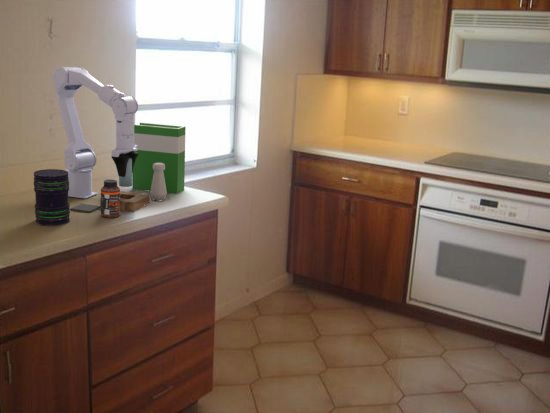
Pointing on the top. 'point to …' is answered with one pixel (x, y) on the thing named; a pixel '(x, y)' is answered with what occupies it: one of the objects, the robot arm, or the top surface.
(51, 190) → the storage jar
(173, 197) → the top surface
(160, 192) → the salt shaker
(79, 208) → the mat
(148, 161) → the green cereal box
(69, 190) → the robot arm
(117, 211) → the supplement bottle
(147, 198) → the holder
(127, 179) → the peg
